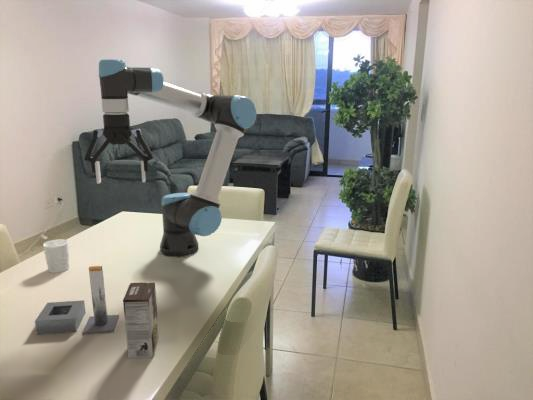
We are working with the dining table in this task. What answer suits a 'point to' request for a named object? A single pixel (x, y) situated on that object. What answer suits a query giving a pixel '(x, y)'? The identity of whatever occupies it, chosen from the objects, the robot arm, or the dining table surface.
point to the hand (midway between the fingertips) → (121, 182)
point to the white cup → (57, 255)
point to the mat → (109, 327)
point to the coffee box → (141, 320)
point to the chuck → (60, 317)
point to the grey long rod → (98, 295)
